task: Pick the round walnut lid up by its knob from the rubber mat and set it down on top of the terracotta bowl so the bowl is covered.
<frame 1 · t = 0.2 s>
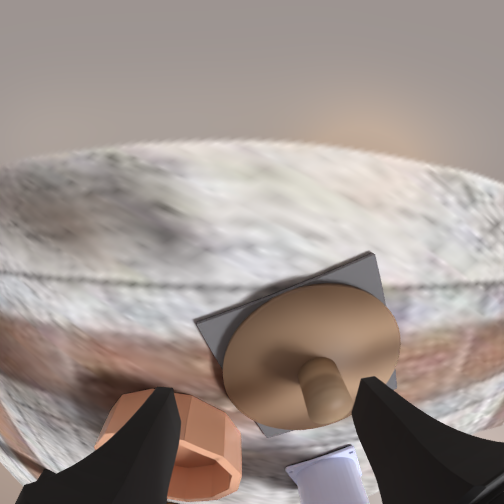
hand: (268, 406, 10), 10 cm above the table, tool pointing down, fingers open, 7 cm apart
mat: (314, 363, 21), on the table
bowl: (173, 435, 23), on the table
lid: (315, 366, 20), resting on mat
drinking cup: (55, 476, 28), on the table
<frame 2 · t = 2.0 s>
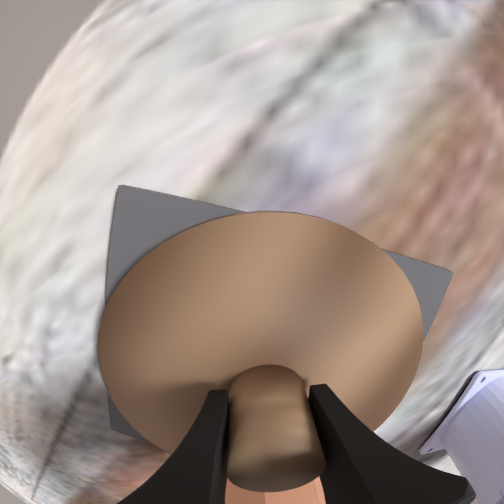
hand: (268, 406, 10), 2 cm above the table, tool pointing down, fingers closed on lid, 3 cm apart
mat: (264, 374, 12), on the table
lid: (265, 380, 11), resting on mat, touching gripper
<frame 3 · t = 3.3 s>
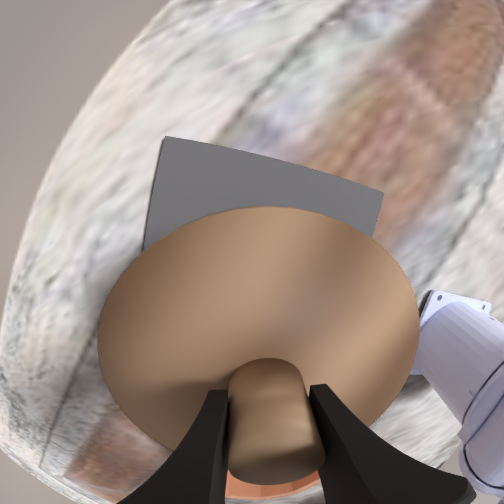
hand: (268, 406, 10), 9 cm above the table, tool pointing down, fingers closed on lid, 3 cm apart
mat: (254, 263, 18), on the table
bowl: (257, 427, 22), on the table
lid: (264, 373, 11), point 7 cm above the table, touching gripper
when the fingers open (8 cm above the table, at t = 4.7 s): lid stays where it is, resting on bowl.
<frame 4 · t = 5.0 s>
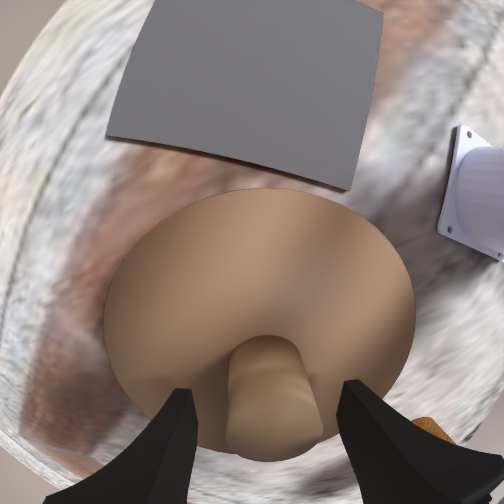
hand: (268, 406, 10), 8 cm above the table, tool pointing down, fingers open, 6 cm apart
mat: (255, 51, 13), on the table
disposable coffee cup: (408, 435, 22), on the table
lid: (264, 354, 12), point 5 cm above the table, touching bowl
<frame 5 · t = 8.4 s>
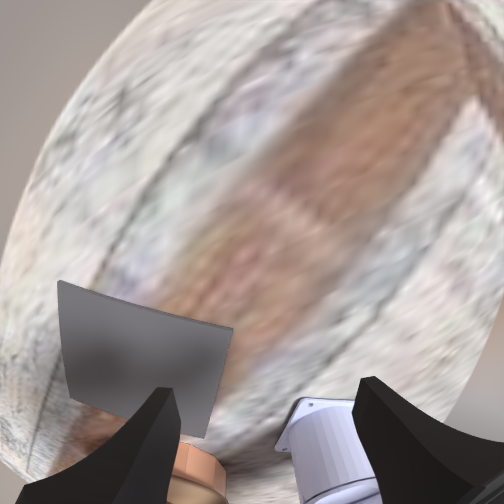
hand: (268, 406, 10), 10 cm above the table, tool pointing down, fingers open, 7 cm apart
mat: (134, 371, 21), on the table
bowl: (169, 467, 25), on the table, touching lid
lid: (161, 498, 20), point 5 cm above the table, touching bowl
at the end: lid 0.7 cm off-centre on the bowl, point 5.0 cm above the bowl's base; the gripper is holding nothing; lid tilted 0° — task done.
